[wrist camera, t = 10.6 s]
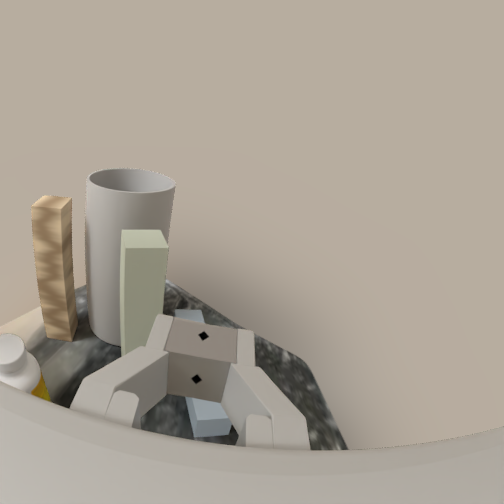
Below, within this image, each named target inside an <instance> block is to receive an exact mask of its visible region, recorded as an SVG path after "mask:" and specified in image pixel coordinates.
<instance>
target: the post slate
mask: <svg viewBox="0 0 504 504" xmlns="http://www.w3.org/2000/svg"><path fill="white" fill-rule="evenodd" d="M174 317H178V318H182V319H187V320H192V321H196V322H201V323H205V322H204V318H203V315H202V311H201V310H186V309H175V312H174ZM185 398H186V402H187V407H188V412H189V416H190V421H191V425H192V429H193V434H194V437H207V436H219V435H228V434H229V431H230V428H231V425H232V423H231V421H230V419H229V418H228V416H227V414H226V413H225V411H224V409H223V408H222V406H221V403H217V402H212V401H206V400H201V399H196V398H190V397H185Z"/></svg>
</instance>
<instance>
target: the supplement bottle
mask: <svg viewBox="0 0 504 504" xmlns="http://www.w3.org/2000/svg"><path fill="white" fill-rule="evenodd" d="M0 381H2V382H4V383H6V384H8V385H11V386H13V387H15V388H17V389H20V390H22V391H24V392H27V393H29V394H31V395H34V396H36V397H39V398H41V399H44V400H46V401H49V402H51V399H50V396H49V393H48V391H47V388H46V385H45V382H44V379H43V376H42V373H41V370H40V367H39V364H38V362H37V360H36V359H35V357H34V356H33V355H32V354H30V353H29V352H27V351H26V348H25V345H24V342H23V340H22V339H21V338H20V337H19V336H17V335H14V334H9V333H6V334H1V335H0Z"/></svg>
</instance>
